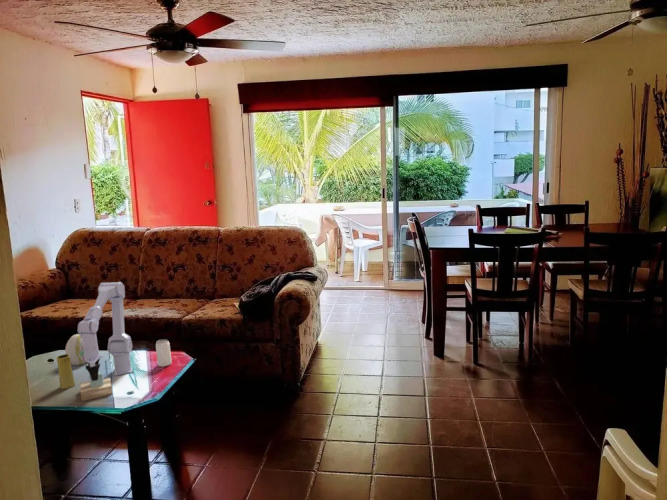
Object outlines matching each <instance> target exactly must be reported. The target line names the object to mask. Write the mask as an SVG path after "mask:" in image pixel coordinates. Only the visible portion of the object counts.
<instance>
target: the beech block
mask: <svg viewBox="0 0 667 500" xmlns="http://www.w3.org/2000/svg"><path fill="white" fill-rule="evenodd" d="M110 395H113V388H112V380H111V377H105V378H104V377H103V385H102V386H97V387H92V388H91V385H90V381H86V382H82V383H81V382H80V398H81V399H80V400H81V401H83V402H84V401H88V400H92V399H97V398H101V397H105V396H106V397H107V396H110Z"/></svg>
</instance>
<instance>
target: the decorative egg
mask: <svg viewBox="0 0 667 500" xmlns="http://www.w3.org/2000/svg"><path fill="white" fill-rule="evenodd" d="M64 353H65V354H69V355H70V361H71V366H81V365H80V364H82V365H85V364H88V363H87V362H86V361H85V356H84V349H83V342H82V338H81V337H80V334H79V333H76V334H73V335H72V336H70V338H69V339H68V340H67V343H66V344H65V349H64Z"/></svg>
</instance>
